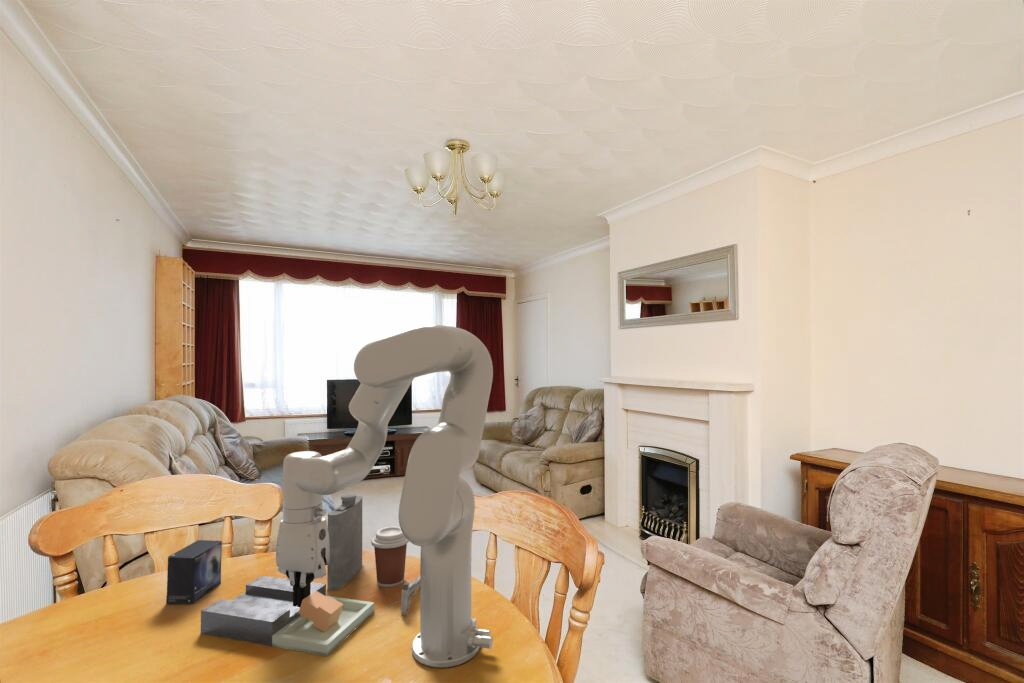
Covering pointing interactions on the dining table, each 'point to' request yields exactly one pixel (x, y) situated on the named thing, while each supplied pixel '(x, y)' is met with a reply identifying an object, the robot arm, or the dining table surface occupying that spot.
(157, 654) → the dining table surface
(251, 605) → the slot block
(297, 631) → the tray
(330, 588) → the hip flask
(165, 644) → the dining table surface
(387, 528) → the coffee cup
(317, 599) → the chip
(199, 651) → the dining table surface
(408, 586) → the caliper
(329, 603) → the chip
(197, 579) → the small box
